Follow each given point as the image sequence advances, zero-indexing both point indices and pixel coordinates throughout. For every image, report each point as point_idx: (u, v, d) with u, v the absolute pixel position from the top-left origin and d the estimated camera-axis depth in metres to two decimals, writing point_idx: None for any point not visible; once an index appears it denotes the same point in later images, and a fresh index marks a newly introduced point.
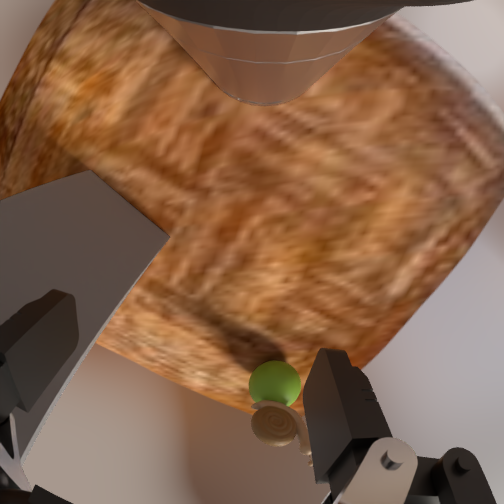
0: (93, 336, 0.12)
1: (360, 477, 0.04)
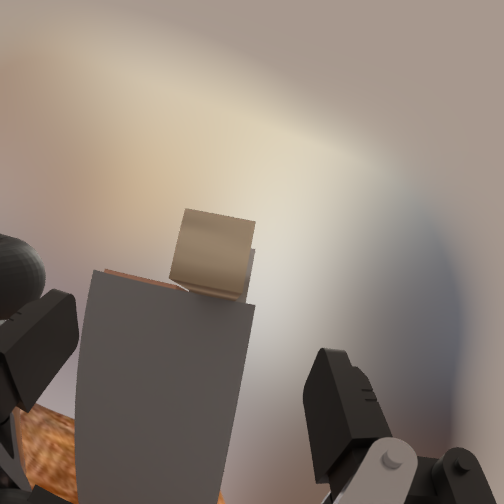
0: None
1: (360, 477, 0.04)
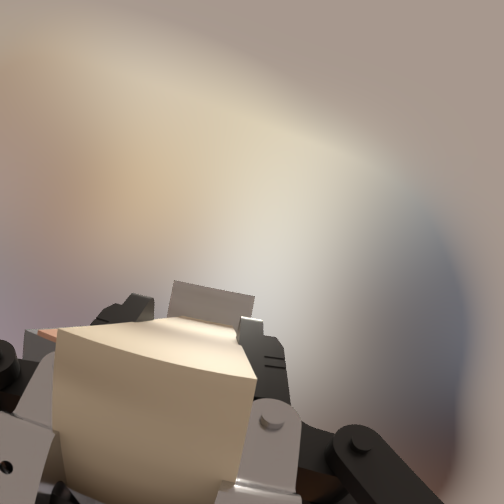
0: None
1: None
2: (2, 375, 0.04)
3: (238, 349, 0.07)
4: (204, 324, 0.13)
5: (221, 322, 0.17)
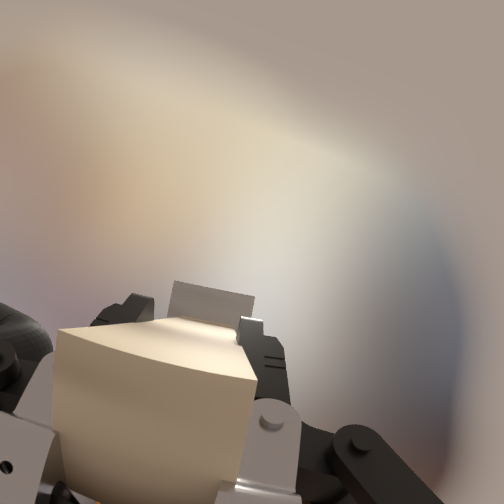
0: None
1: None
2: (2, 375, 0.04)
3: (238, 350, 0.07)
4: (204, 324, 0.13)
5: (221, 322, 0.17)
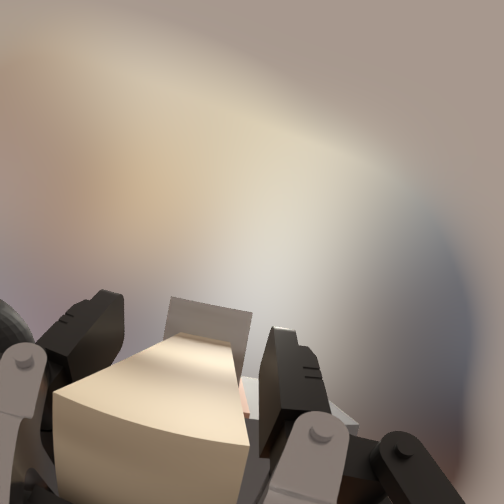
0: None
1: (288, 455, 0.04)
2: None
3: (233, 391, 0.06)
4: (201, 345, 0.13)
5: (219, 338, 0.17)
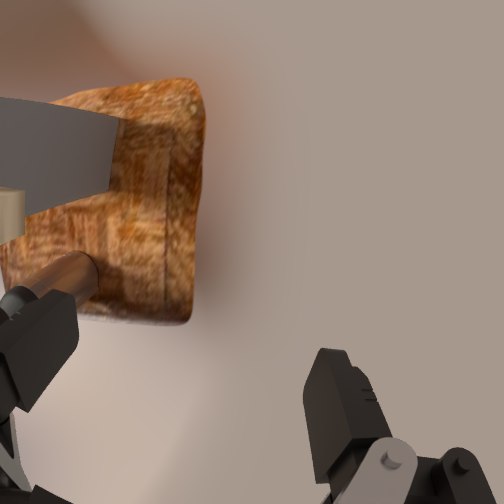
0: None
1: (360, 477, 0.04)
2: None
3: None
4: None
5: None
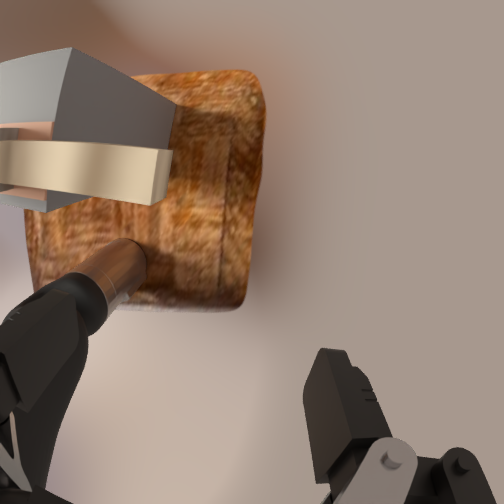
0: None
1: (360, 477, 0.04)
2: None
3: (109, 146, 0.14)
4: (22, 162, 0.14)
5: None
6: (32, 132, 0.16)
